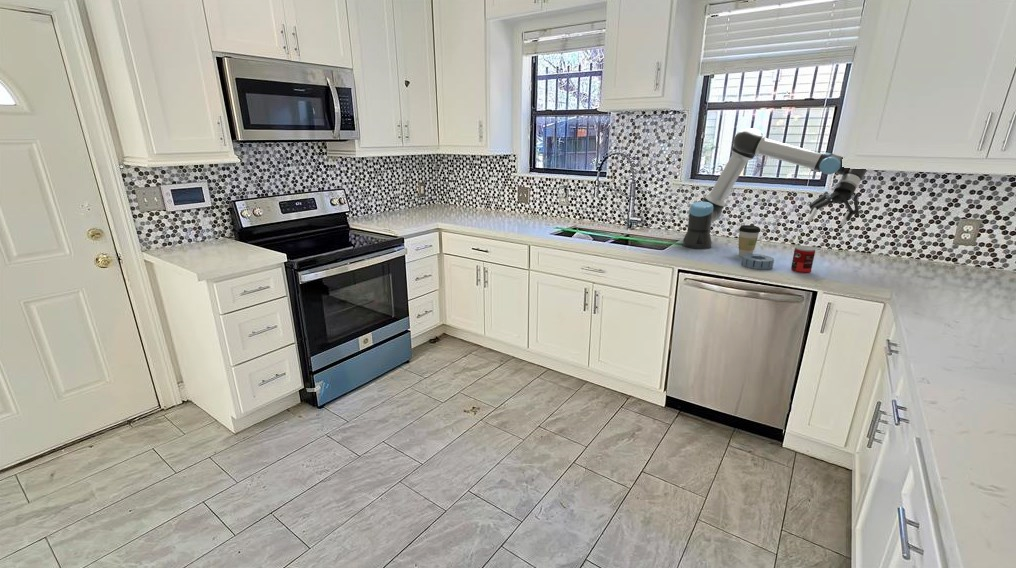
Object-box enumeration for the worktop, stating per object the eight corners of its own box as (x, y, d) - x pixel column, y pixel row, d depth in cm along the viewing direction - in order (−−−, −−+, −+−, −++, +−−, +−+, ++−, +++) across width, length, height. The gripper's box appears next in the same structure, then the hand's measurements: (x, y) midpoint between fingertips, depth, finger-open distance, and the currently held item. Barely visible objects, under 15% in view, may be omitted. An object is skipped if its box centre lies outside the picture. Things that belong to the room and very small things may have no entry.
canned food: (791, 267, 218) (796, 244, 215) (811, 270, 214) (816, 247, 210) (789, 271, 212) (794, 248, 209) (810, 274, 208) (815, 250, 205)
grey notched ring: (736, 264, 223) (737, 256, 222) (751, 260, 230) (752, 252, 229) (762, 271, 213) (764, 262, 212) (777, 266, 220) (779, 258, 219)
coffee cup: (758, 258, 233) (763, 229, 228) (737, 257, 235) (741, 228, 230) (752, 253, 242) (757, 225, 237) (732, 252, 244) (736, 224, 239)
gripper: (879, 194, 208) (857, 231, 205) (819, 189, 228) (798, 223, 225) (877, 183, 203) (855, 221, 200) (816, 179, 223) (794, 213, 220)
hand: (825, 222), depth 212 cm, fingers open, 13 cm apart
